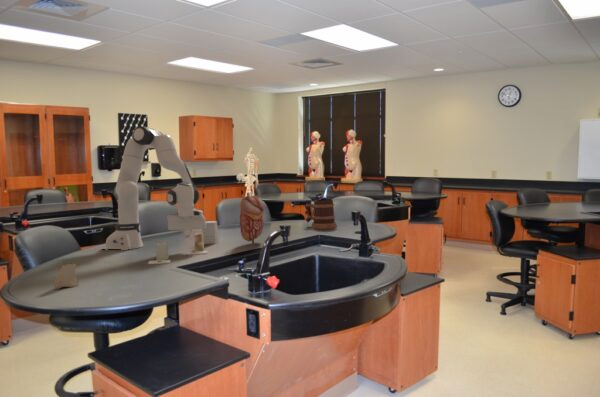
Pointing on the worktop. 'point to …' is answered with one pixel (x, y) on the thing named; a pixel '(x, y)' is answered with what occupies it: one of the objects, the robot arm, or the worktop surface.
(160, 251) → the sage block
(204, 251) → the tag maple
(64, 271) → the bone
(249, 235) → the anatomical model
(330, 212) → the mug
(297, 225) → the worktop surface
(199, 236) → the maple block
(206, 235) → the supplement box
